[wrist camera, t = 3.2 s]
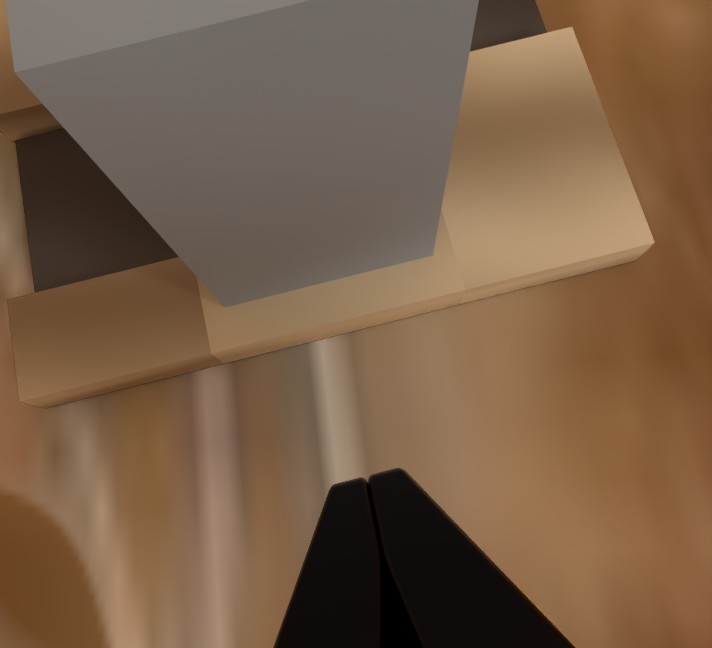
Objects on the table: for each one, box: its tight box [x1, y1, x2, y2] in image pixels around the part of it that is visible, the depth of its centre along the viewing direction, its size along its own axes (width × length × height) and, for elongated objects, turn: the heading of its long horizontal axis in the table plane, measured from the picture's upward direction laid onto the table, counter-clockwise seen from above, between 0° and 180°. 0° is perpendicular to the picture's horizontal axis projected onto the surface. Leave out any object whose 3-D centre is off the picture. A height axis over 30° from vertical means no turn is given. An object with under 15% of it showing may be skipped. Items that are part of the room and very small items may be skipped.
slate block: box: [5, 0, 479, 308], centre depth 12 cm, size 5×5×9 cm
